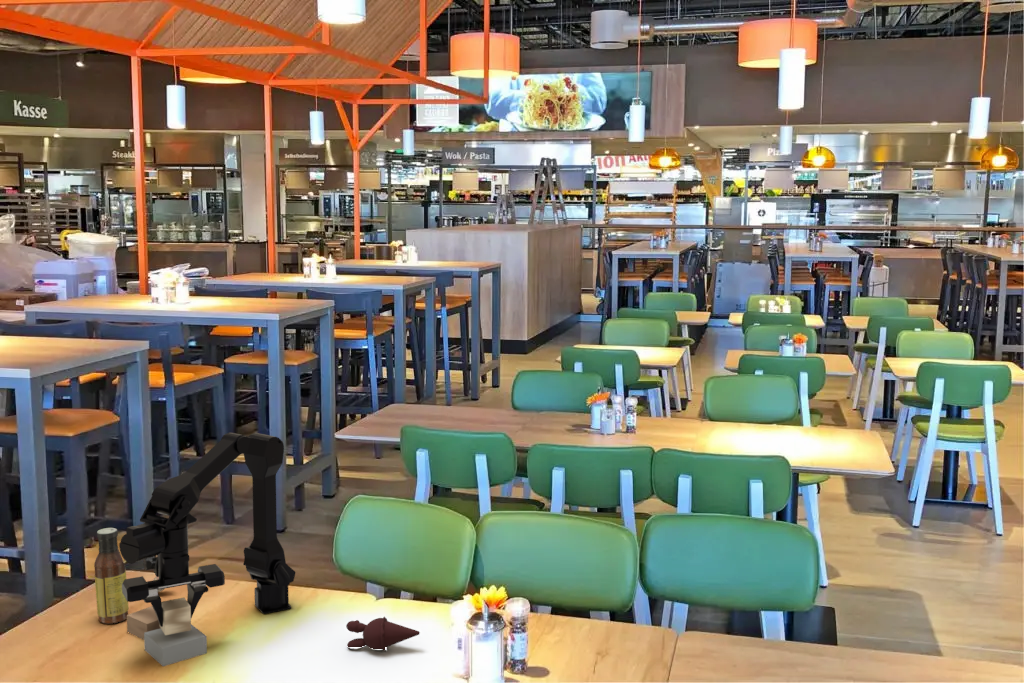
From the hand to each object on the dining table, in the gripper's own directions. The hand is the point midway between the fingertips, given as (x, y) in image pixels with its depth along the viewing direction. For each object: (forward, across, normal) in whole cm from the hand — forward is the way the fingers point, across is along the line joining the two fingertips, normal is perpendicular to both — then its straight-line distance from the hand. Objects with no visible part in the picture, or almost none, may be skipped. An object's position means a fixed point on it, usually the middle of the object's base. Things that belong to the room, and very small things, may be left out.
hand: (175, 623), depth 200 cm
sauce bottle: (+6, +8, -22) cm, 24 cm away
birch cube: (+1, 0, 0) cm, 1 cm away
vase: (+6, -4, -31) cm, 32 cm away
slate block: (+6, 0, 0) cm, 6 cm away
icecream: (+6, -37, +19) cm, 42 cm away
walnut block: (+6, +2, -12) cm, 14 cm away
